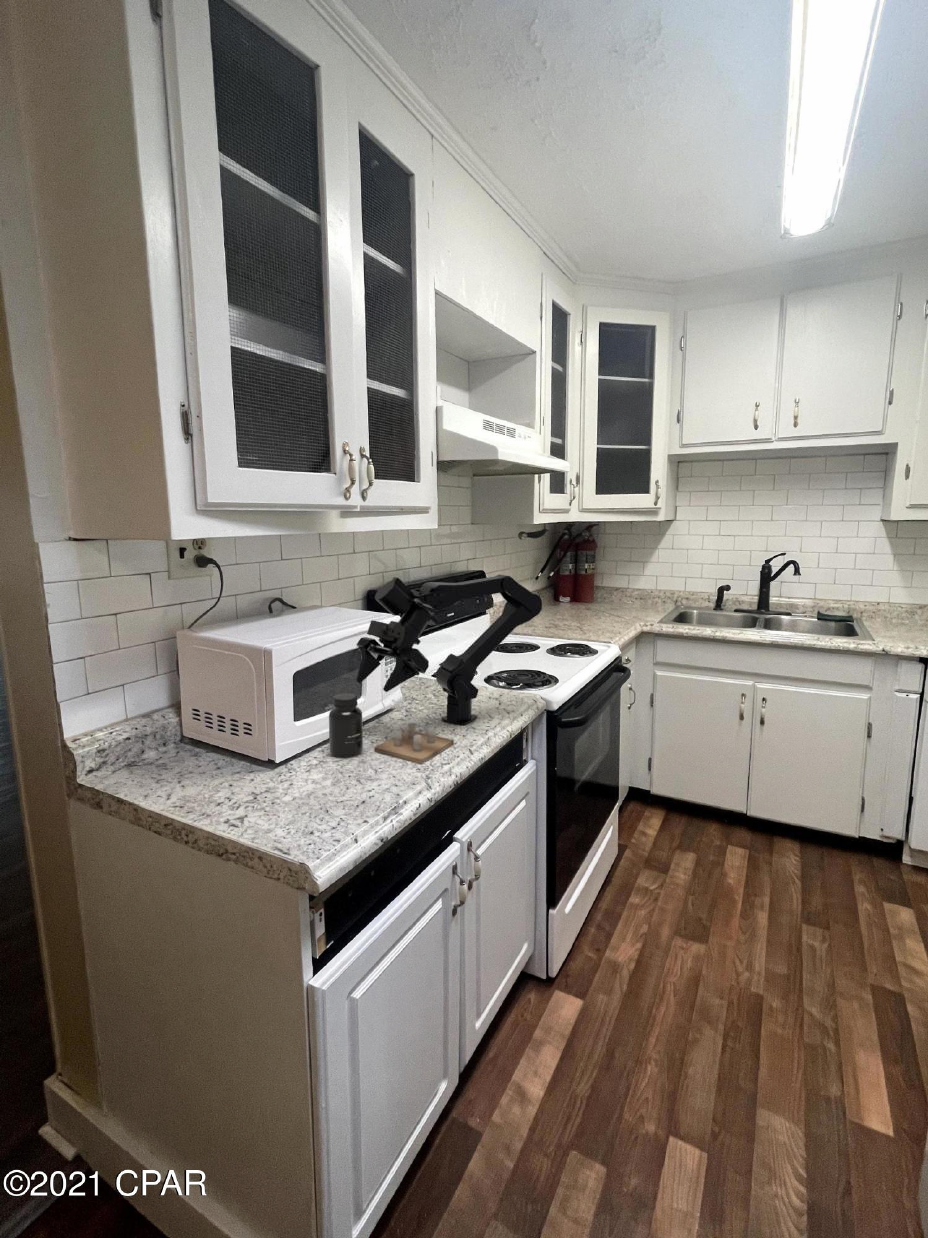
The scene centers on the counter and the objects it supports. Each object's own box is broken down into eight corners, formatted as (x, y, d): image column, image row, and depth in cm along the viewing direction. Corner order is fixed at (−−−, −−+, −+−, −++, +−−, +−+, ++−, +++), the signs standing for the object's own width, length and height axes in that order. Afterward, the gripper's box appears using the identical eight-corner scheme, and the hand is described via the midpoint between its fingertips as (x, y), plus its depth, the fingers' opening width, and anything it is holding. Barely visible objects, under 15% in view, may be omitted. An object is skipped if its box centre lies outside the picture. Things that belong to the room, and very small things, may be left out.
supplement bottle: (355, 759, 119) (354, 702, 117) (324, 757, 120) (322, 700, 118) (368, 746, 125) (366, 692, 123) (337, 744, 127) (336, 690, 124)
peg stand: (408, 733, 133) (408, 716, 132) (453, 744, 127) (453, 726, 126) (374, 751, 123) (374, 733, 122) (421, 764, 117) (421, 745, 116)
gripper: (362, 601, 133) (322, 657, 126) (418, 611, 120) (377, 673, 114) (389, 631, 140) (352, 685, 134) (445, 643, 127) (407, 703, 121)
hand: (370, 686), depth 125 cm, fingers open, 9 cm apart
